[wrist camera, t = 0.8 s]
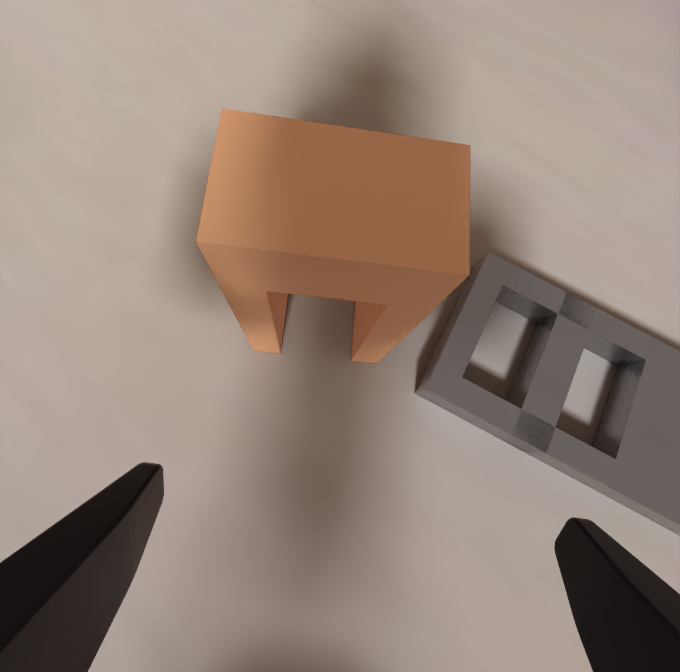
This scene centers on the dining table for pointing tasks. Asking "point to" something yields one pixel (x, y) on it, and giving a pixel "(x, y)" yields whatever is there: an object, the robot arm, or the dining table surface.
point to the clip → (334, 225)
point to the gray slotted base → (553, 385)
